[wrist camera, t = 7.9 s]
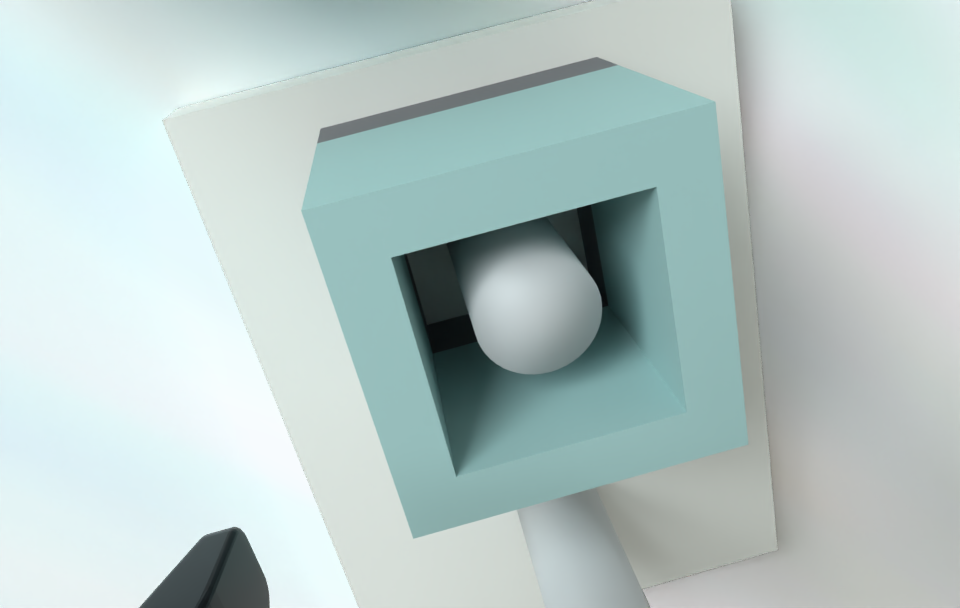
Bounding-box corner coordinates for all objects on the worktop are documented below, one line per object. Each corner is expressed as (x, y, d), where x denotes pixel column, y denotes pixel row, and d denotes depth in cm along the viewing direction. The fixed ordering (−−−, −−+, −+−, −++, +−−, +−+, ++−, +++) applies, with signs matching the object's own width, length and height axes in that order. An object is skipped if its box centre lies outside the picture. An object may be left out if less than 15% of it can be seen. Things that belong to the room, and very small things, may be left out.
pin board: (754, 517, 24) (882, 695, 18) (380, 624, 24) (388, 842, 18) (699, -28, 17) (874, -25, 12) (177, 107, 17) (81, 182, 11)
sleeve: (636, 306, 19) (748, 444, 13) (397, 372, 19) (413, 538, 13) (596, 56, 16) (715, 101, 11) (320, 128, 16) (301, 211, 11)
